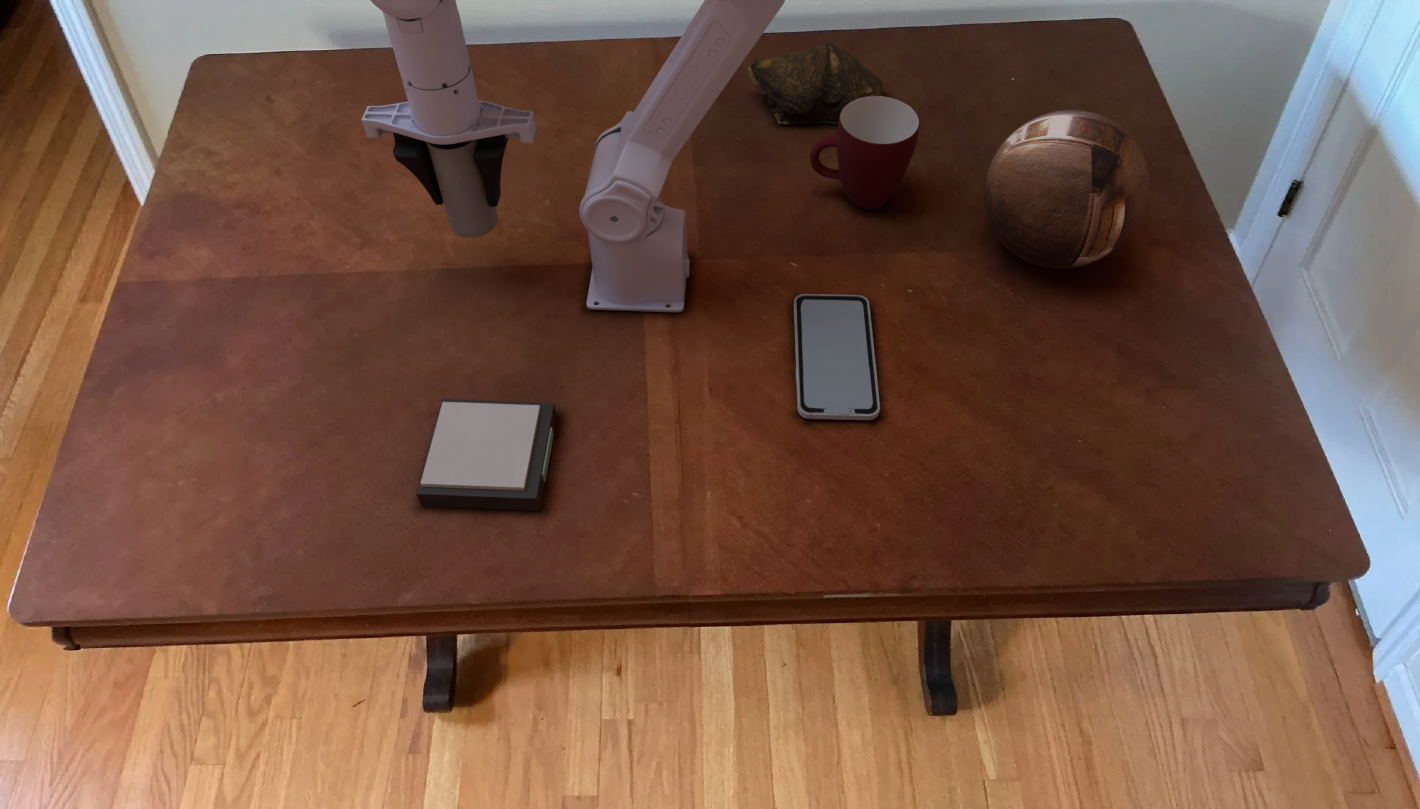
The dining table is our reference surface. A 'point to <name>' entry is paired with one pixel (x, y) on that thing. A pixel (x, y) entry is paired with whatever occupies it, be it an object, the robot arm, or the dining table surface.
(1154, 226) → the dining table surface
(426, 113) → the robot arm
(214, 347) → the dining table surface
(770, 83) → the seashell
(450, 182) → the gray cylinder
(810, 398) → the smartphone
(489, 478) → the scale
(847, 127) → the mug
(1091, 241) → the shiny copper ball
